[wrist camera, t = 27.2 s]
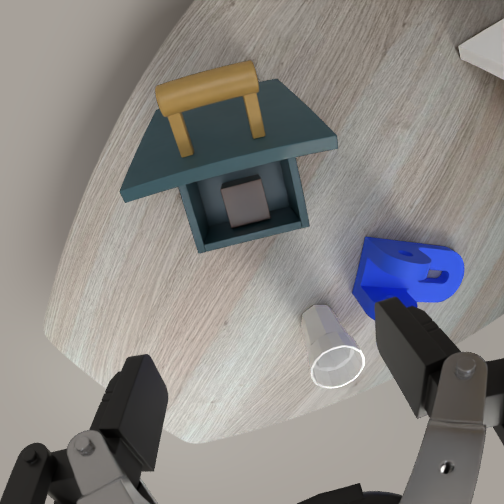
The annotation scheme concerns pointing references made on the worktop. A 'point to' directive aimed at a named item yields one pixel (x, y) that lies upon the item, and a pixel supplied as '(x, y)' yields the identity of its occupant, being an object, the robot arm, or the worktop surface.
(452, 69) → the worktop surface
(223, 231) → the box
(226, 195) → the block
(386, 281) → the bracket
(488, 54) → the white tilted panel stand
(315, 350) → the cup
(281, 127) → the lid
